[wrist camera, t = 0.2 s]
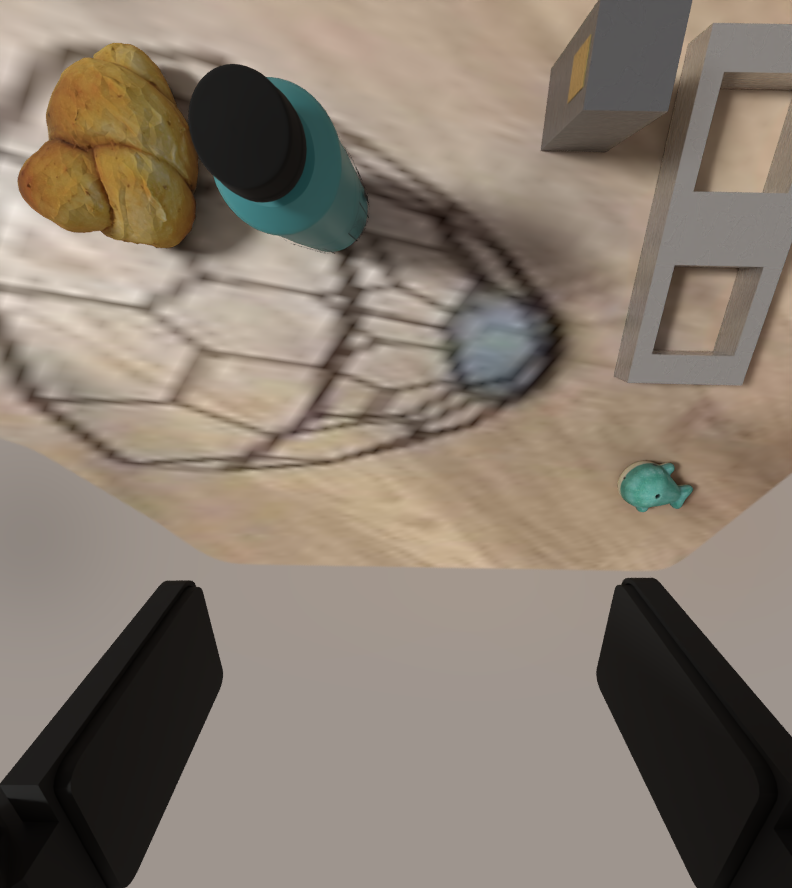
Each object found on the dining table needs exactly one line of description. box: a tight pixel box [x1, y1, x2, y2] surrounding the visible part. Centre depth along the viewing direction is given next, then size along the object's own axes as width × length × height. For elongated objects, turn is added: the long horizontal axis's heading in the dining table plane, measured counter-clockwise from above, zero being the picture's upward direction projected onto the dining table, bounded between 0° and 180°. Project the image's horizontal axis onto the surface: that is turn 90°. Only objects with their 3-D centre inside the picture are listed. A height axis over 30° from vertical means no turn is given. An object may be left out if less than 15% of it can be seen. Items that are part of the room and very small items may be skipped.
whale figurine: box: [618, 461, 693, 512], centre depth 40 cm, size 6×7×4 cm
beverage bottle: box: [188, 64, 369, 254], centre depth 24 cm, size 6×7×20 cm
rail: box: [614, 23, 792, 385], centre depth 32 cm, size 24×10×2 cm, turn 179°
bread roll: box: [18, 43, 199, 248], centre depth 29 cm, size 13×10×8 cm
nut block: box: [541, 0, 692, 152], centre depth 27 cm, size 5×5×8 cm
